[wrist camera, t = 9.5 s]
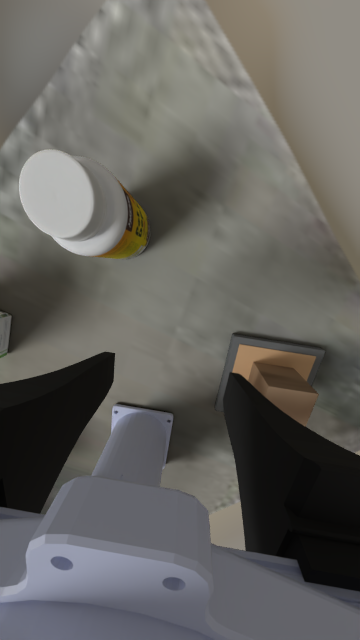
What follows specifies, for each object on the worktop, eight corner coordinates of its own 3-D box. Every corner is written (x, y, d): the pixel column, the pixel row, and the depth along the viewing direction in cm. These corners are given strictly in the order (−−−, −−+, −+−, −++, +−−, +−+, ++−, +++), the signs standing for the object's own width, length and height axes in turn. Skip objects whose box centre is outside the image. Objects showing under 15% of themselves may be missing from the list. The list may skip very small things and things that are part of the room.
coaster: (292, 419, 24) (296, 424, 24) (214, 406, 25) (215, 411, 24) (320, 347, 22) (326, 351, 21) (232, 333, 22) (234, 336, 21)
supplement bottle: (160, 247, 20) (128, 231, 10) (112, 267, 20) (39, 270, 11) (138, 189, 18) (76, 102, 8) (88, 212, 19) (-22, 159, 9)
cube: (281, 401, 23) (302, 433, 18) (243, 395, 23) (256, 425, 19) (293, 367, 21) (318, 394, 17) (253, 361, 22) (268, 386, 17)
